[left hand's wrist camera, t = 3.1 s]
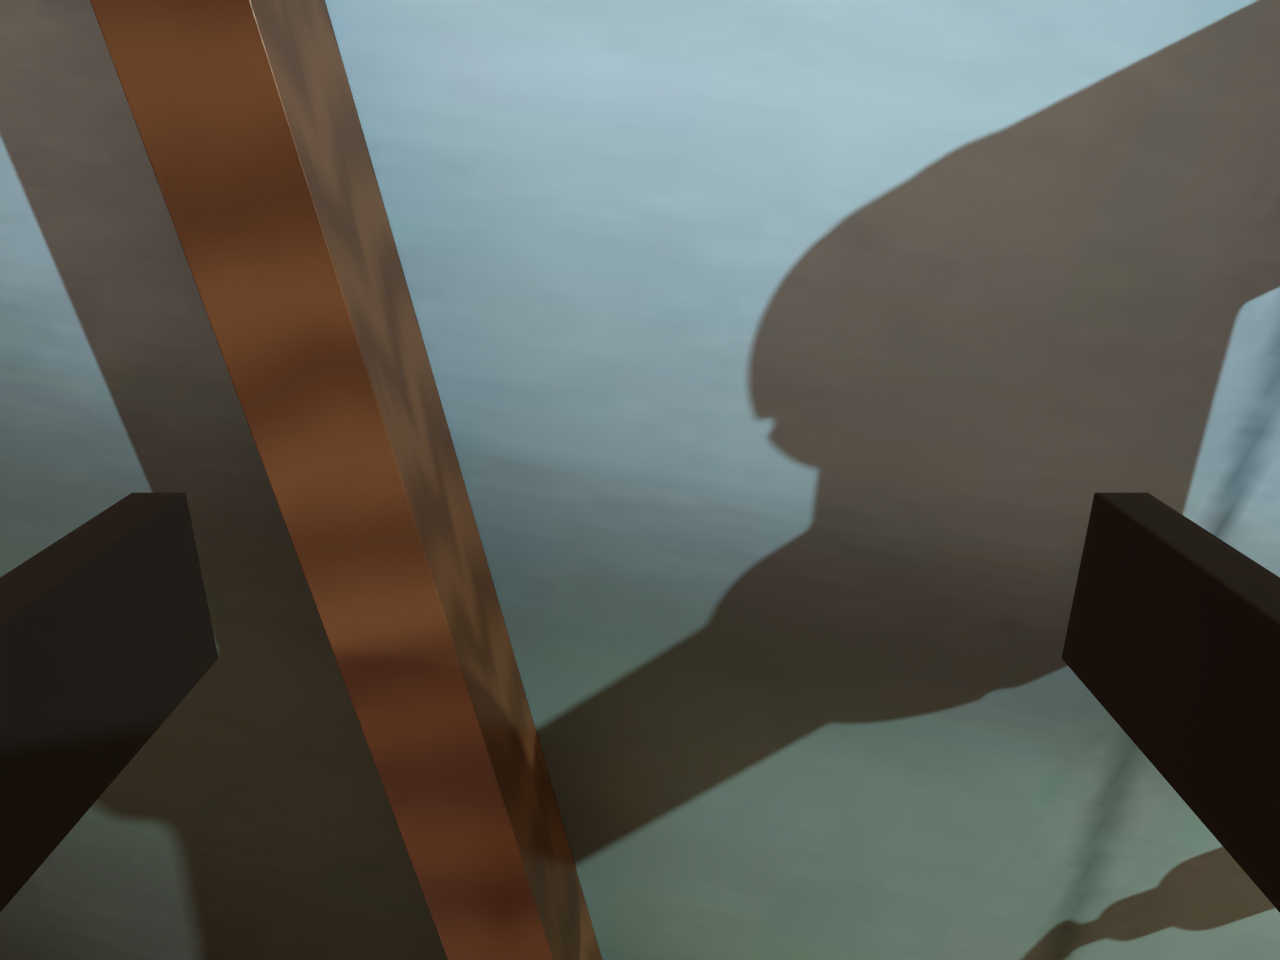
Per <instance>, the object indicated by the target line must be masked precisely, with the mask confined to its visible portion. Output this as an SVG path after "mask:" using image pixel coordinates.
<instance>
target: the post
mask: <svg viewBox="0 0 1280 960" xmlns="http://www.w3.org/2000/svg"><path fill="white" fill-rule="evenodd" d="M90 1H91V4H92V7H93V9H94V12H95V15H96V17H97V20H98V23H99V25H100V28H101V31H102V34H103V36H104V39H105V42H106V44H107V47H108V50H109V52H110V55H111V58H112V60H113V63H114V66H115V68H116V71H117V74H118V76H119V79H120V82H121V84H122V87H123V90H124V92H125V95H126V98H127V100H128V103H129V106H130V109H131V111H132V114H133V117H134V119H135V122H136V125H137V127H138V130H139V133H140V135H141V138H142V141H143V143H144V146H145V149H146V151H147V154H148V157H149V159H150V162H151V165H152V167H153V170H154V173H155V175H156V178H157V181H158V184H159V186H160V189H161V192H162V194H163V197H164V200H165V202H166V205H167V208H168V210H169V213H170V216H171V218H172V221H173V224H174V226H175V229H176V232H177V234H178V237H179V240H180V242H181V245H182V248H183V250H184V253H185V256H186V259H187V261H188V264H189V267H190V269H191V272H192V275H193V277H194V280H195V283H196V285H197V288H198V291H199V293H200V296H201V299H202V301H203V304H204V307H205V309H206V312H207V315H208V317H209V320H210V323H211V325H212V328H213V331H214V334H215V336H216V339H217V342H218V344H219V347H220V350H221V352H222V355H223V358H224V360H225V363H226V366H227V368H228V371H229V374H230V376H231V379H232V382H233V384H234V387H235V390H236V392H237V395H238V398H239V400H240V403H241V406H242V409H243V411H244V414H245V417H246V419H247V422H248V425H249V427H250V430H251V433H252V435H253V438H254V441H255V443H256V446H257V449H258V451H259V454H260V457H261V459H262V462H263V465H264V467H265V470H266V473H267V475H268V478H269V481H270V484H271V486H272V489H273V492H274V494H275V497H276V500H277V502H278V505H279V508H280V510H281V513H282V516H283V518H284V521H285V524H286V526H287V529H288V532H289V534H290V537H291V540H292V542H293V545H294V548H295V551H296V553H297V556H298V559H299V561H300V564H301V567H302V569H303V572H304V575H305V577H306V580H307V583H308V585H309V588H310V591H311V593H312V596H313V599H314V601H315V604H316V607H317V609H318V612H319V615H320V617H321V620H322V623H323V626H324V628H325V631H326V634H327V636H328V639H329V642H330V644H331V647H332V650H333V652H334V655H335V658H336V660H337V663H338V666H339V668H340V671H341V674H342V676H343V679H344V682H345V684H346V687H347V690H348V692H349V695H350V698H351V701H352V703H353V706H354V709H355V711H356V714H357V717H358V719H359V722H360V725H361V727H362V730H363V733H364V735H365V738H366V741H367V743H368V746H369V749H370V751H371V754H372V757H373V759H374V762H375V765H376V767H377V770H378V773H379V776H380V778H381V781H382V784H383V786H384V789H385V792H386V794H387V797H388V800H389V802H390V805H391V808H392V810H393V813H394V816H395V818H396V821H397V824H398V826H399V829H400V832H401V834H402V837H403V840H404V842H405V845H406V848H407V851H408V853H409V856H410V859H411V861H412V864H413V867H414V869H415V872H416V875H417V877H418V880H419V883H420V885H421V888H422V891H423V893H424V896H425V899H426V901H427V904H428V907H429V909H430V912H431V915H432V917H433V920H434V923H435V926H436V928H437V931H438V934H439V936H440V939H441V942H442V944H443V947H444V950H445V952H446V955H447V958H448V960H602V957H601V954H600V950H599V947H598V944H597V940H596V937H595V933H594V930H593V926H592V923H591V919H590V916H589V912H588V909H587V906H586V902H585V899H584V895H583V892H582V888H581V885H580V881H579V878H578V874H577V871H576V867H575V864H574V861H573V857H572V854H571V850H570V847H569V843H568V840H567V836H566V833H565V829H564V826H563V823H562V819H561V816H560V812H559V809H558V805H557V802H556V798H555V795H554V791H553V788H552V784H551V781H550V778H549V774H548V771H547V767H546V764H545V760H544V757H543V753H542V750H541V746H540V743H539V740H538V736H537V733H536V729H535V726H534V722H533V719H532V715H531V712H530V708H529V705H528V702H527V698H526V695H525V691H524V688H523V684H522V681H521V677H520V674H519V670H518V667H517V663H516V660H515V657H514V653H513V650H512V646H511V643H510V639H509V636H508V632H507V629H506V625H505V622H504V619H503V615H502V612H501V608H500V605H499V601H498V598H497V594H496V591H495V587H494V584H493V580H492V577H491V574H490V570H489V567H488V563H487V560H486V556H485V553H484V549H483V546H482V542H481V539H480V536H479V532H478V529H477V525H476V522H475V518H474V515H473V511H472V508H471V504H470V501H469V497H468V494H467V491H466V487H465V484H464V480H463V477H462V473H461V470H460V466H459V463H458V459H457V456H456V453H455V449H454V446H453V442H452V439H451V435H450V432H449V428H448V425H447V421H446V418H445V414H444V411H443V408H442V404H441V401H440V397H439V394H438V390H437V387H436V383H435V380H434V376H433V373H432V370H431V366H430V363H429V359H428V356H427V352H426V349H425V345H424V342H423V338H422V335H421V331H420V328H419V325H418V321H417V318H416V314H415V311H414V307H413V304H412V300H411V297H410V293H409V290H408V287H407V283H406V280H405V276H404V273H403V269H402V266H401V262H400V259H399V255H398V252H397V248H396V245H395V242H394V238H393V235H392V231H391V228H390V224H389V221H388V217H387V214H386V210H385V207H384V204H383V200H382V197H381V193H380V190H379V186H378V183H377V179H376V176H375V172H374V169H373V166H372V162H371V159H370V155H369V152H368V148H367V145H366V141H365V138H364V134H363V131H362V127H361V124H360V121H359V117H358V114H357V110H356V107H355V103H354V100H353V96H352V93H351V89H350V86H349V83H348V79H347V76H346V72H345V69H344V65H343V62H342V58H341V55H340V51H339V48H338V44H337V41H336V38H335V34H334V31H333V27H332V24H331V20H330V17H329V13H328V10H327V6H326V3H325V0H90Z"/></svg>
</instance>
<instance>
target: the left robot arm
mask: <svg viewBox="0 0 1280 960" xmlns="http://www.w3.org/2000/svg"><path fill="white" fill-rule="evenodd" d="M217 659H218V654H217V649H216V644H215V639H214V634H213V629H212V624H211V619H210V614H209V609H208V604H207V599H206V594H205V589H204V584H203V579H202V574H201V569H200V564H199V559H198V554H197V549H196V544H195V539H194V534H193V529H192V524H191V519H190V514H189V509H188V504H187V499H186V494H185V493H131V494H130V495H128V496H127V497H125V498H123V499H122V500H120V501H119V502H117V503H116V504H114V505H113V506H111V507H109V508H108V509H106V510H105V511H103V512H102V513H100V514H99V515H97V516H95V517H94V518H92V519H91V520H89V521H88V522H86V523H85V524H83V525H81V526H80V527H78V528H77V529H75V530H74V531H72V532H71V533H69V534H67V535H66V536H64V537H63V538H61V539H60V540H58V541H57V542H55V543H53V544H52V545H50V546H49V547H47V548H46V549H44V550H43V551H41V552H40V553H38V554H36V555H35V556H33V557H32V558H30V559H29V560H27V561H26V562H24V563H22V564H21V565H19V566H18V567H16V568H15V569H13V570H12V571H10V572H8V573H7V574H5V575H4V576H2V577H1V578H0V912H1V911H2V910H3V909H4V907H5V906H6V905H7V904H8V903H9V902H10V900H11V899H12V898H13V897H14V896H15V895H16V893H17V892H18V891H19V890H20V889H21V888H22V886H23V885H24V884H25V883H26V882H27V881H28V879H29V878H30V877H31V876H32V875H33V874H34V872H35V871H36V870H37V869H38V868H39V867H40V865H41V864H42V863H43V862H44V861H45V860H46V858H47V857H48V856H49V855H50V854H51V853H52V851H53V850H54V849H55V848H56V847H57V846H58V844H59V843H60V842H61V841H62V840H63V839H64V837H65V836H66V835H67V834H68V833H69V832H70V830H71V829H72V828H73V827H74V826H75V825H76V823H77V822H78V821H79V820H80V819H81V818H82V816H83V815H84V814H85V813H86V812H87V811H88V809H89V808H90V807H91V806H92V805H93V804H94V802H95V801H96V800H97V799H98V798H99V797H100V795H101V794H102V793H103V792H104V791H105V790H106V788H107V787H108V786H109V785H110V784H111V783H112V781H113V780H114V779H115V778H116V777H117V776H118V774H119V773H120V772H121V771H122V770H123V769H124V767H125V766H126V765H127V764H128V763H129V762H130V760H131V759H132V758H133V757H134V756H135V755H136V753H137V752H138V751H139V750H140V749H141V748H142V746H143V745H144V744H145V743H146V742H147V741H148V739H149V738H150V737H151V736H152V735H153V734H154V732H155V731H156V730H157V729H158V728H159V727H160V725H161V724H162V723H163V722H164V721H165V720H166V718H167V717H168V716H169V715H170V714H171V713H172V711H173V710H174V709H175V708H176V707H177V706H178V704H179V703H180V702H181V701H182V700H183V699H184V697H185V696H186V695H187V694H188V693H189V692H190V690H191V689H192V688H193V687H194V686H195V685H196V683H197V682H198V681H199V680H200V679H201V678H202V676H203V675H204V674H205V673H206V672H207V671H208V669H209V668H210V667H211V666H212V665H213V664H214V662H215V661H216V660H217ZM1062 659H1063V660H1064V661H1065V662H1066V664H1067V665H1068V666H1069V667H1070V668H1071V669H1072V671H1073V672H1074V673H1075V674H1076V675H1077V676H1078V678H1079V679H1080V680H1081V681H1082V682H1083V683H1084V685H1085V686H1086V687H1087V688H1088V689H1089V690H1090V692H1091V693H1092V694H1093V695H1094V696H1095V697H1096V699H1097V700H1098V701H1099V702H1100V703H1101V704H1102V706H1103V707H1104V708H1105V709H1106V710H1107V711H1108V713H1109V714H1110V715H1111V716H1112V717H1113V718H1114V720H1115V721H1116V722H1117V723H1118V724H1119V725H1120V727H1121V728H1122V729H1123V730H1124V731H1125V732H1126V734H1127V735H1128V736H1129V737H1130V738H1131V739H1132V741H1133V742H1134V743H1135V744H1136V745H1137V746H1138V748H1139V749H1140V750H1141V751H1142V752H1143V753H1144V755H1145V756H1146V757H1147V758H1148V759H1149V760H1150V762H1151V763H1152V764H1153V765H1154V766H1155V767H1156V769H1157V770H1158V771H1159V772H1160V773H1161V774H1162V776H1163V777H1164V778H1165V779H1166V780H1167V781H1168V783H1169V784H1170V785H1171V786H1172V787H1173V788H1174V790H1175V791H1176V792H1177V793H1178V794H1179V795H1180V797H1181V798H1182V799H1183V800H1184V801H1185V802H1186V804H1187V805H1188V806H1189V807H1190V808H1191V809H1192V811H1193V812H1194V813H1195V814H1196V815H1197V816H1198V818H1199V819H1200V820H1201V821H1202V822H1203V823H1204V825H1205V826H1206V827H1207V828H1208V829H1209V830H1210V832H1211V833H1212V834H1213V835H1214V836H1215V837H1216V839H1217V840H1218V841H1219V842H1220V843H1221V844H1222V846H1223V847H1224V848H1225V849H1226V850H1227V851H1228V853H1229V854H1230V855H1231V856H1232V857H1233V858H1234V860H1235V861H1236V862H1237V863H1238V864H1239V865H1240V867H1241V868H1242V869H1243V870H1244V871H1245V872H1246V874H1247V875H1248V876H1249V877H1250V878H1251V879H1252V881H1253V882H1254V883H1255V884H1256V885H1257V886H1258V888H1259V889H1260V890H1261V891H1262V892H1263V893H1264V895H1265V896H1266V897H1267V898H1268V899H1269V900H1270V902H1271V903H1272V904H1273V905H1274V906H1275V907H1276V909H1277V910H1278V911H1279V912H1280V578H1279V577H1278V576H1276V575H1275V574H1273V573H1272V572H1270V571H1268V570H1267V569H1265V568H1264V567H1262V566H1261V565H1259V564H1258V563H1256V562H1254V561H1253V560H1251V559H1250V558H1248V557H1247V556H1245V555H1244V554H1242V553H1240V552H1239V551H1237V550H1236V549H1234V548H1233V547H1231V546H1230V545H1228V544H1227V543H1225V542H1223V541H1222V540H1220V539H1219V538H1217V537H1216V536H1214V535H1213V534H1211V533H1209V532H1208V531H1206V530H1205V529H1203V528H1202V527H1200V526H1199V525H1197V524H1195V523H1194V522H1192V521H1191V520H1189V519H1188V518H1186V517H1185V516H1183V515H1181V514H1180V513H1178V512H1177V511H1175V510H1174V509H1172V508H1171V507H1169V506H1167V505H1166V504H1164V503H1163V502H1161V501H1160V500H1158V499H1157V498H1155V497H1153V496H1152V495H1150V494H1149V493H1095V494H1094V499H1093V504H1092V509H1091V514H1090V519H1089V524H1088V529H1087V534H1086V539H1085V544H1084V549H1083V554H1082V559H1081V564H1080V569H1079V574H1078V579H1077V584H1076V589H1075V594H1074V599H1073V604H1072V609H1071V614H1070V619H1069V624H1068V629H1067V634H1066V639H1065V644H1064V649H1063V654H1062Z"/></svg>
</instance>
